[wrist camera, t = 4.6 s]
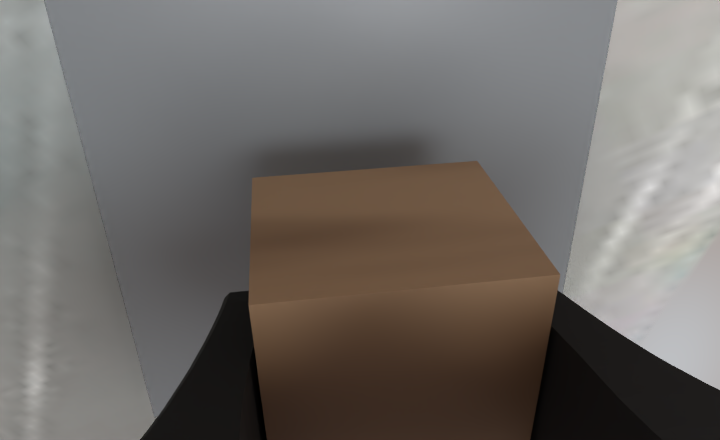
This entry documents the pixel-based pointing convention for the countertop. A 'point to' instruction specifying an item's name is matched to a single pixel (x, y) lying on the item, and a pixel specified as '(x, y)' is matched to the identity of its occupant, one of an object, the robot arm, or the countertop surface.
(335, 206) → the walnut brick
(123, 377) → the countertop surface
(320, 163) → the baseplate
